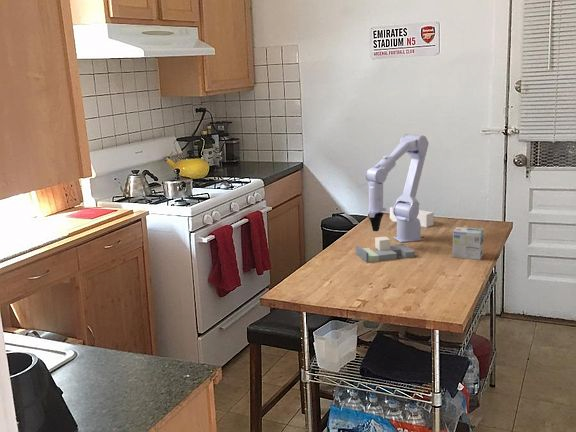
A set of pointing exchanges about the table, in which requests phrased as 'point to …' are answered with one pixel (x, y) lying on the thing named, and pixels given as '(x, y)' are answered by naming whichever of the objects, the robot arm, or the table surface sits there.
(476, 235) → the light bulb box
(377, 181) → the robot arm
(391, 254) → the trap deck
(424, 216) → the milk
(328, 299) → the table surface
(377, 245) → the block
